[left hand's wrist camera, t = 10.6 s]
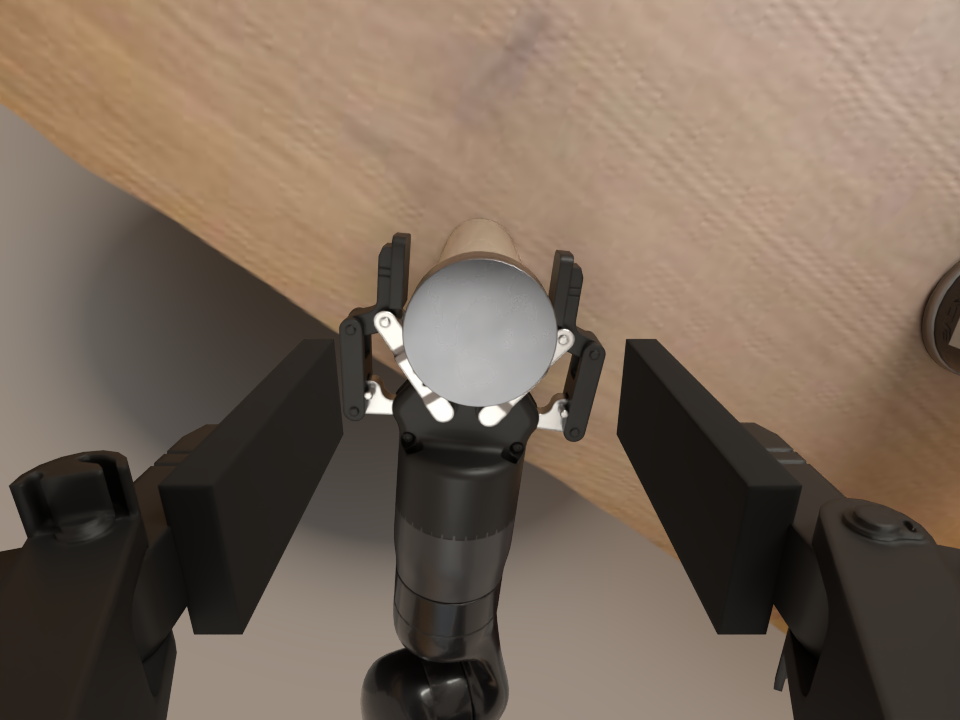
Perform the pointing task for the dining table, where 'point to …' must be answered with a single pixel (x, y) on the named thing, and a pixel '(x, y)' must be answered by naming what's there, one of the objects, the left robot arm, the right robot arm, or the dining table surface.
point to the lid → (480, 329)
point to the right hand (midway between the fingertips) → (483, 243)
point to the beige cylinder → (479, 240)
